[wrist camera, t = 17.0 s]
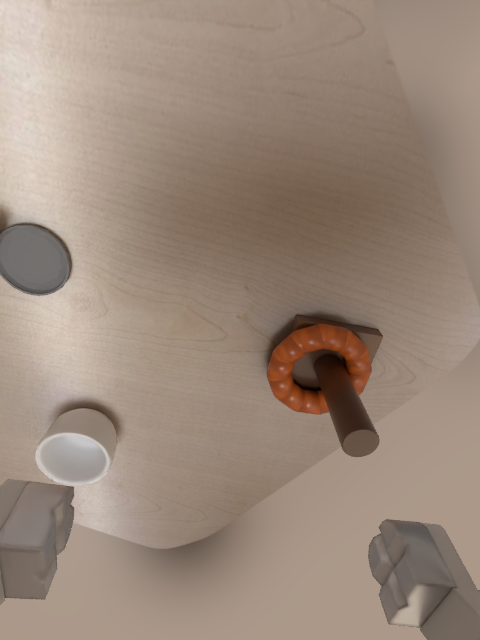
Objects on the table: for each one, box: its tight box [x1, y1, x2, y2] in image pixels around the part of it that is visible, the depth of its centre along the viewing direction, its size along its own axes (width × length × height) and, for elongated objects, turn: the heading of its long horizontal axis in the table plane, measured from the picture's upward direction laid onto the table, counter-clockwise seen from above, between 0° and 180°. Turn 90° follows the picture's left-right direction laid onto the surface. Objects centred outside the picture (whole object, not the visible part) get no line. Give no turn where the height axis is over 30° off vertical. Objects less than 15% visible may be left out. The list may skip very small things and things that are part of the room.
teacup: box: [35, 408, 117, 486], centre depth 42 cm, size 10×8×5 cm
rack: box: [290, 315, 383, 457], centre depth 36 cm, size 9×9×12 cm
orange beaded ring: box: [267, 324, 372, 415], centre depth 39 cm, size 10×10×2 cm
